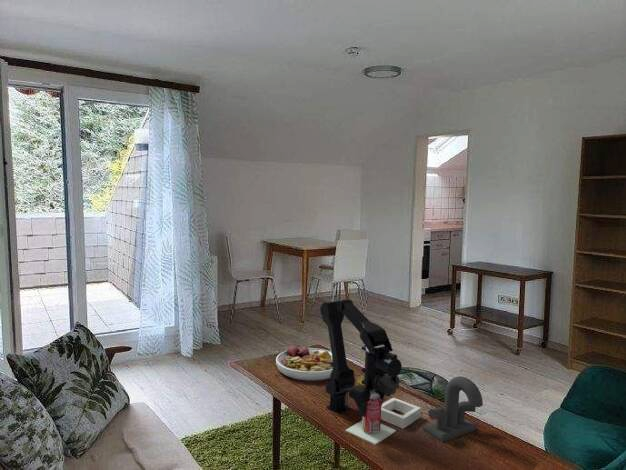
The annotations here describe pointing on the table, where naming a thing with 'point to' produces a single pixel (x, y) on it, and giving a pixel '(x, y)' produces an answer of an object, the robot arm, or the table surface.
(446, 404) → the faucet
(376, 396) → the beverage can
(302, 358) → the bowl
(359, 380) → the gold flat disc
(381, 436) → the mat
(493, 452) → the table surface
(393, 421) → the collar
